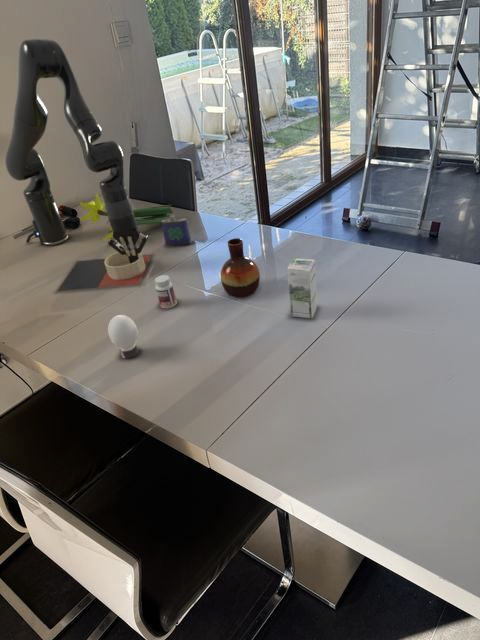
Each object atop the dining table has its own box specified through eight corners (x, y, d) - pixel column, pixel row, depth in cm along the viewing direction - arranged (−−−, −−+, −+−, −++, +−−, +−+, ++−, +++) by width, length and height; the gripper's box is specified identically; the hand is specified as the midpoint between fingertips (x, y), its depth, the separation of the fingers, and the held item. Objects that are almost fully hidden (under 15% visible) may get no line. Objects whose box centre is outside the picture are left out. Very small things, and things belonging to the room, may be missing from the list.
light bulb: (119, 365, 115) (105, 328, 108) (114, 350, 120) (101, 314, 113) (146, 356, 117) (134, 319, 110) (140, 342, 122) (129, 306, 115)
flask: (192, 241, 168) (186, 212, 162) (191, 245, 166) (184, 215, 159) (167, 243, 169) (159, 214, 162) (165, 247, 167) (158, 218, 160)
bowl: (104, 281, 150) (99, 268, 147) (114, 263, 159) (110, 251, 157) (141, 278, 149) (137, 265, 146) (148, 260, 159) (145, 248, 156)
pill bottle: (170, 298, 138) (163, 272, 133) (180, 303, 135) (173, 277, 130) (157, 305, 136) (149, 279, 131) (166, 310, 133) (159, 284, 128)
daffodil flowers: (187, 228, 180) (100, 238, 157) (168, 241, 191) (85, 252, 168) (173, 185, 179) (84, 188, 156) (155, 200, 190) (69, 206, 167)
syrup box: (317, 307, 126) (315, 258, 117) (312, 320, 122) (309, 269, 113) (296, 305, 128) (293, 256, 119) (290, 317, 124) (286, 268, 115)
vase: (267, 283, 139) (262, 234, 130) (251, 303, 131) (244, 252, 122) (234, 279, 143) (226, 231, 134) (216, 298, 135) (207, 248, 126)
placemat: (57, 292, 148) (57, 291, 148) (78, 262, 164) (77, 261, 164) (139, 285, 147) (138, 283, 146) (151, 255, 162) (151, 254, 162)
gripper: (144, 206, 145) (158, 258, 156) (102, 210, 146) (118, 261, 157) (139, 215, 139) (153, 268, 150) (95, 220, 140) (112, 272, 151)
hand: (135, 265), depth 153 cm, fingers closed
